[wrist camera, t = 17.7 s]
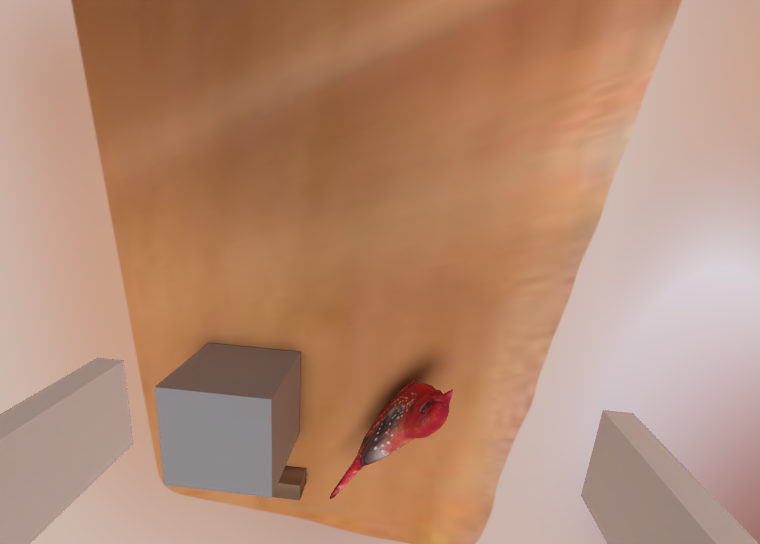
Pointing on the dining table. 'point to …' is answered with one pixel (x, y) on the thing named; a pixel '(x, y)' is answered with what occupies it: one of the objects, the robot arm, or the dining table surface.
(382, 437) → the decorative bird figurine
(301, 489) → the strip
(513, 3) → the dining table surface
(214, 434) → the gray storage cube
